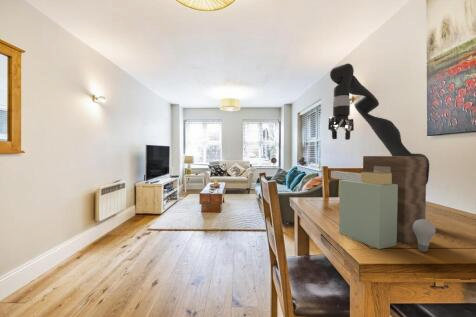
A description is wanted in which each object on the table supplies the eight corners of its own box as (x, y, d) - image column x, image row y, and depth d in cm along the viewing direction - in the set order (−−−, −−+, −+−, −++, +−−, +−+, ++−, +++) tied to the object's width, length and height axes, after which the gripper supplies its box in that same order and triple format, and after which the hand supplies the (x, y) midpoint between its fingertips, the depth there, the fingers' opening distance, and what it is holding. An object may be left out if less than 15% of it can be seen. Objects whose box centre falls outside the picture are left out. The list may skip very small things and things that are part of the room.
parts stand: (381, 226, 108) (382, 156, 107) (424, 239, 91) (426, 156, 91) (361, 229, 103) (362, 156, 103) (403, 244, 87) (405, 156, 86)
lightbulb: (439, 256, 76) (440, 222, 76) (417, 254, 78) (418, 221, 77) (428, 249, 82) (428, 217, 82) (408, 247, 84) (409, 216, 83)
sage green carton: (355, 230, 102) (355, 179, 102) (396, 245, 85) (397, 184, 85) (338, 232, 99) (339, 180, 98) (378, 249, 82) (380, 185, 82)
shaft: (338, 177, 108) (338, 168, 108) (391, 184, 85) (391, 173, 85) (328, 178, 106) (328, 169, 106) (380, 185, 83) (380, 173, 83)
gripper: (345, 109, 123) (345, 140, 123) (324, 106, 117) (324, 139, 117) (358, 106, 116) (358, 139, 116) (336, 103, 110) (336, 138, 110)
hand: (341, 139), depth 116 cm, fingers open, 8 cm apart
